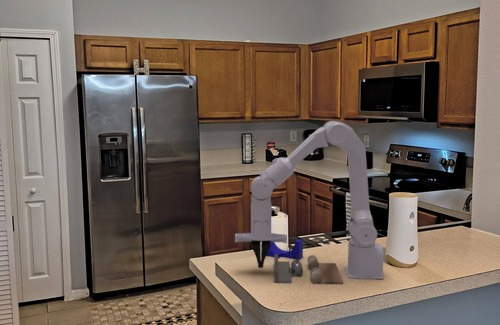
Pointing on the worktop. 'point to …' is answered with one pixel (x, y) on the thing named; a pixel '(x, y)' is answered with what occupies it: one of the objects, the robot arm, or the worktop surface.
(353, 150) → the robot arm
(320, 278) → the fixed leaf
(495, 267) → the worktop surface
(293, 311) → the worktop surface
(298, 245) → the blue u-shaped bracket
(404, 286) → the worktop surface
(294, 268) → the metal hinge
